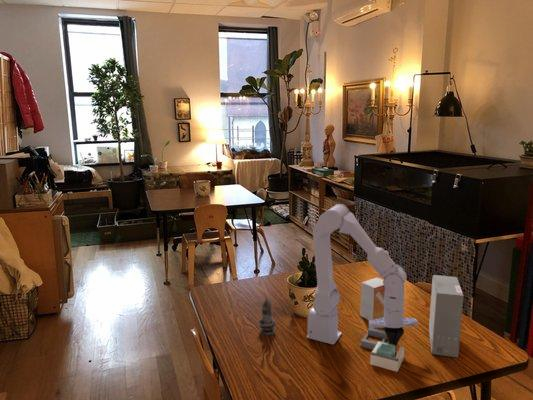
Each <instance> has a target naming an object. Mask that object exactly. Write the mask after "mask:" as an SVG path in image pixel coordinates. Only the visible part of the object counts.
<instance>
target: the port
mask: <svg viewBox="0 0 533 400" xmlns="http://www.w3.org/2000/svg"><path fill="white" fill-rule="evenodd" d="M377 342H378V343H377V344H376V346H375V348H374V350H373V349H372V351H371V352H370V363H369V364H370V365H372V366H375V367H379V368H382V369H386V370H390V371H393V372H398V371H399V369H400V367H401V365H402V363H403V360H404V358H405V347H403V346H399V348H398V350H397V352H396V354H395V358H394V357H390V356H386V355H382V354H378V353H377V349H378V347H379V346H380V344H381V342H382V341H377Z"/></svg>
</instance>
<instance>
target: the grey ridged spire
mask: <svg viewBox="0 0 533 400" xmlns="http://www.w3.org/2000/svg"><path fill="white" fill-rule="evenodd" d="M272 312H273V310H272V303H271V301H270V300H268V298H265V300H264V301H262V310H261V313H262V314H261V315H262V318H260V319H259V320H258V321H257V323H258V325H259V328H260V329H259V334H260V335H263V336H272V335H273V334H275V333H276V330H275V329H274V328H275V324H276V322H277V320H276V319H274V318H272Z"/></svg>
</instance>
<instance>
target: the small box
mask: <svg viewBox="0 0 533 400" xmlns="http://www.w3.org/2000/svg"><path fill="white" fill-rule="evenodd" d="M383 281H384V279H383V278H381V277H380V278H379V277H375V278H374V277H373V278H370V279H368V280H365V281H361V282H360V283H361V285H360V289H361V290H360V312H359V313H360V314H359V316H360V317H362V318H364V319H366V320H368V321H369V320H376V319H379V318H383V317H384V297H385V287H384V284H383Z"/></svg>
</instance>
